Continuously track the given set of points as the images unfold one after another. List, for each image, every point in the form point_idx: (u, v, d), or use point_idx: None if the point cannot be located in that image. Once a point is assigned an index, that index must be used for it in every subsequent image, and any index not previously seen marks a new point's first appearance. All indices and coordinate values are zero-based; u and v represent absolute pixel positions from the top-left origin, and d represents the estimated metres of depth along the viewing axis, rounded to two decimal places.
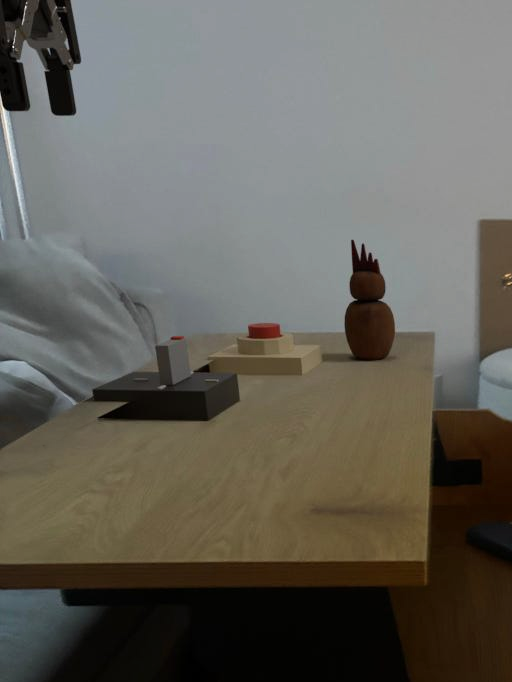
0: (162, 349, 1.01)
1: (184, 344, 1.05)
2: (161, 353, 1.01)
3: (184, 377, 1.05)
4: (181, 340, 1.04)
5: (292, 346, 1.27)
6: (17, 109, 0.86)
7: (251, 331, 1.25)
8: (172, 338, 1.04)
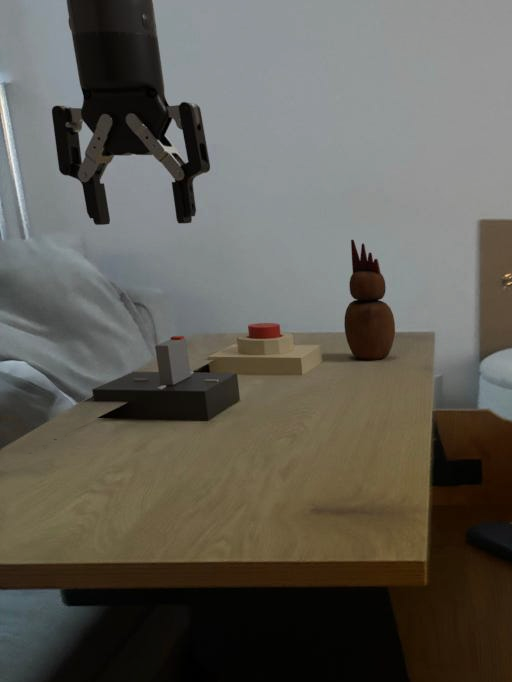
0: (162, 349, 1.01)
1: (184, 344, 1.05)
2: (161, 353, 1.01)
3: (184, 377, 1.05)
4: (181, 340, 1.04)
5: (292, 346, 1.27)
6: None
7: (251, 331, 1.25)
8: (172, 338, 1.04)
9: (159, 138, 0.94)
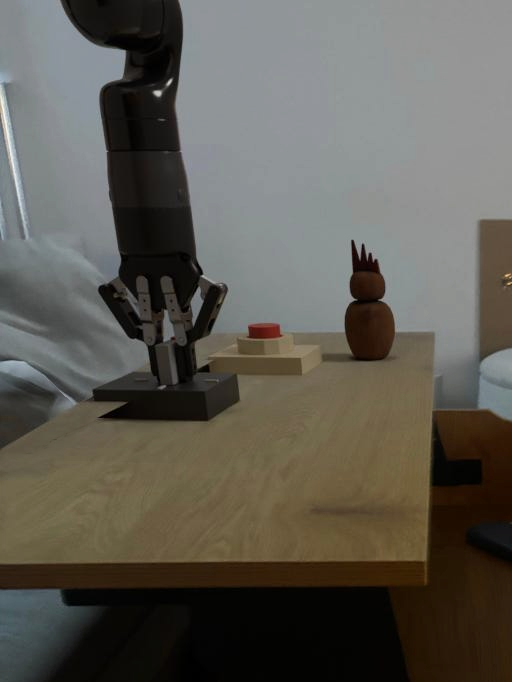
0: (162, 349, 1.01)
1: None
2: (161, 353, 1.01)
3: None
4: None
5: (292, 346, 1.27)
6: None
7: (251, 331, 1.25)
8: (172, 338, 1.04)
9: None
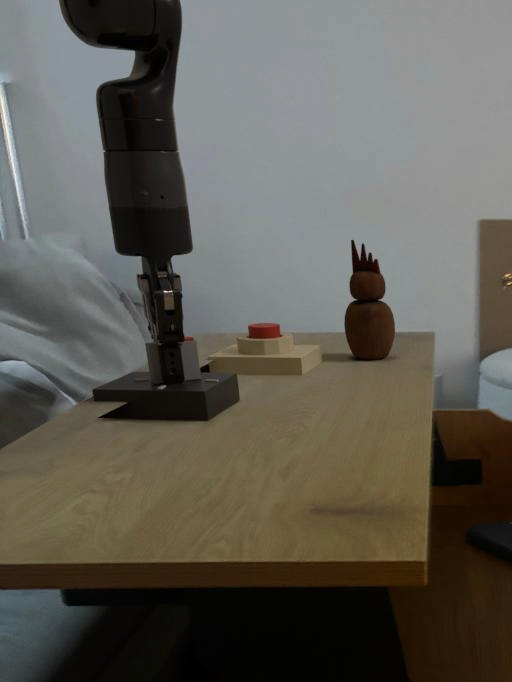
0: (147, 347, 1.02)
1: (190, 346, 1.03)
2: (147, 351, 1.02)
3: None
4: (183, 342, 1.03)
5: (292, 346, 1.27)
6: None
7: (251, 331, 1.25)
8: None
9: None
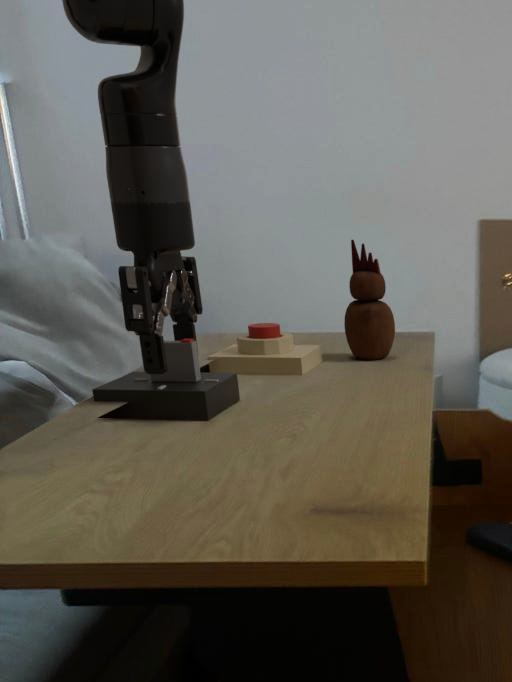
0: None
1: (185, 348, 1.02)
2: None
3: (179, 379, 1.04)
4: (178, 343, 1.02)
5: (292, 346, 1.27)
6: None
7: (251, 331, 1.25)
8: None
9: None
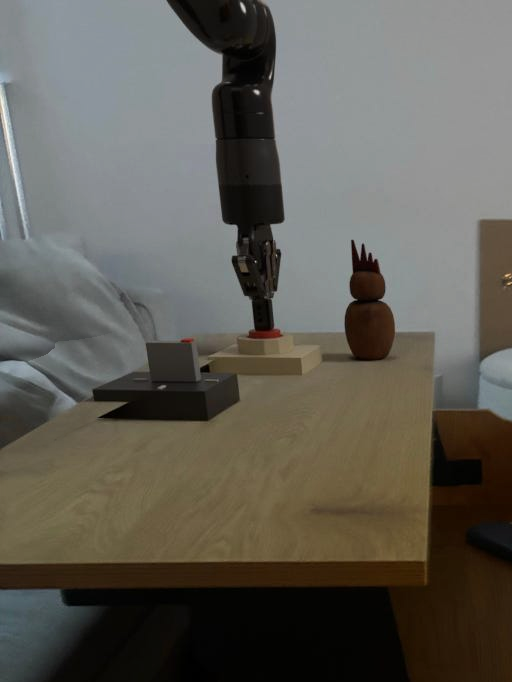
0: None
1: (185, 348, 1.02)
2: None
3: (179, 379, 1.04)
4: (178, 343, 1.02)
5: (292, 346, 1.27)
6: None
7: (252, 336, 1.25)
8: None
9: None
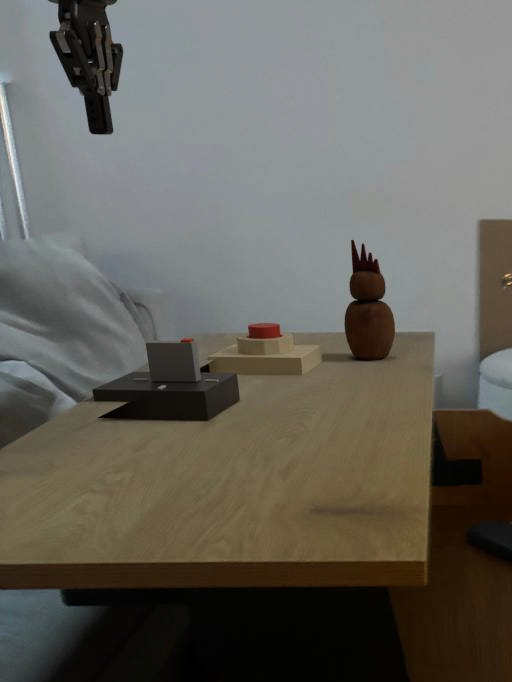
0: None
1: (185, 348, 1.02)
2: None
3: (179, 379, 1.04)
4: (178, 343, 1.02)
5: (292, 346, 1.27)
6: (102, 133, 1.11)
7: (251, 331, 1.25)
8: None
9: None
